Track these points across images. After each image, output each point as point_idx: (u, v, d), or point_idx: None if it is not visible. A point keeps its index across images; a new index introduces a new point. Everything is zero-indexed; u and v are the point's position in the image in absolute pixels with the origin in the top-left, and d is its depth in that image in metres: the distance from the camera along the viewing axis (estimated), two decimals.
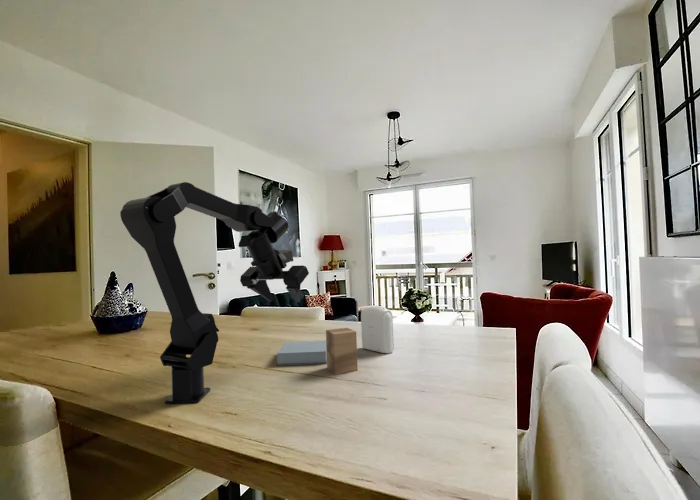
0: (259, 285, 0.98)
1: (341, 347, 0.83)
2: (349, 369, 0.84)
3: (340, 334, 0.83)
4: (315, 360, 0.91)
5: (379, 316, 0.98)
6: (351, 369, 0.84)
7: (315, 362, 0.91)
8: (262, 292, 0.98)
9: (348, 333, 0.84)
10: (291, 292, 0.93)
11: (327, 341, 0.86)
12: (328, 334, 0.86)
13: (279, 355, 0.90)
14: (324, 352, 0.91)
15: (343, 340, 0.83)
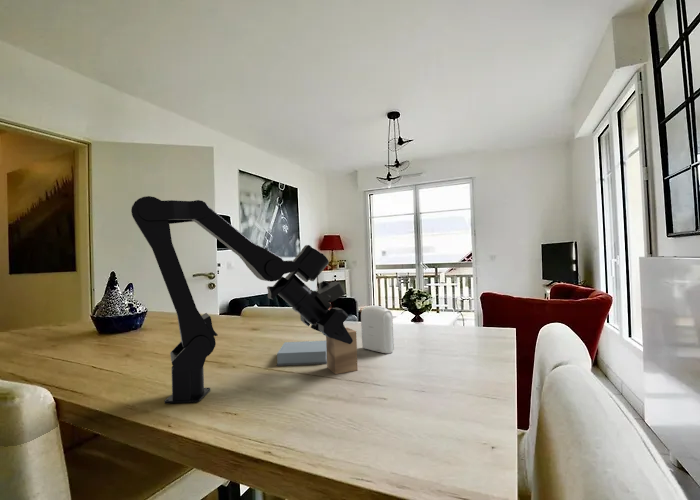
0: None
1: (341, 347, 0.83)
2: (349, 369, 0.84)
3: None
4: (315, 360, 0.91)
5: (379, 316, 0.98)
6: (351, 369, 0.84)
7: (315, 362, 0.91)
8: None
9: None
10: (332, 337, 0.81)
11: (327, 341, 0.86)
12: None
13: (279, 355, 0.90)
14: (324, 352, 0.91)
15: None
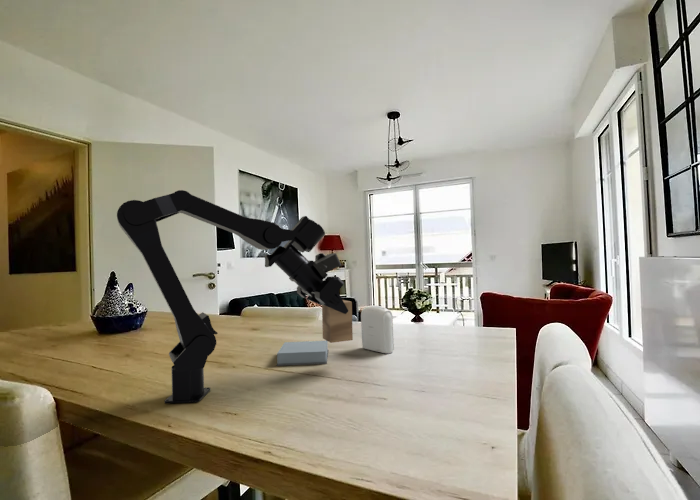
0: None
1: (337, 317, 0.84)
2: (344, 338, 0.85)
3: None
4: (315, 360, 0.91)
5: (379, 316, 0.98)
6: (346, 338, 0.85)
7: (315, 362, 0.91)
8: (322, 303, 0.89)
9: None
10: (327, 306, 0.82)
11: (323, 311, 0.88)
12: None
13: (279, 355, 0.90)
14: (324, 352, 0.91)
15: None
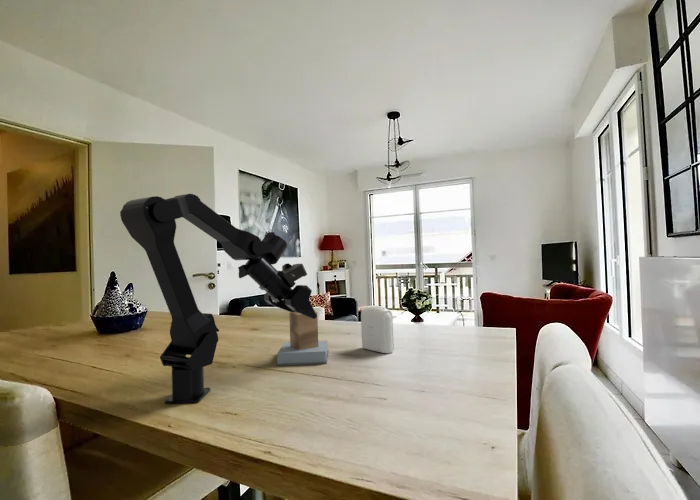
0: (281, 302, 0.99)
1: (304, 326, 0.94)
2: (311, 345, 0.95)
3: (303, 315, 0.94)
4: (315, 360, 0.91)
5: (379, 316, 0.98)
6: (313, 345, 0.95)
7: (315, 362, 0.91)
8: (286, 308, 0.99)
9: None
10: (299, 312, 0.90)
11: (291, 322, 0.97)
12: (291, 315, 0.96)
13: (279, 355, 0.90)
14: (324, 352, 0.91)
15: (306, 320, 0.94)
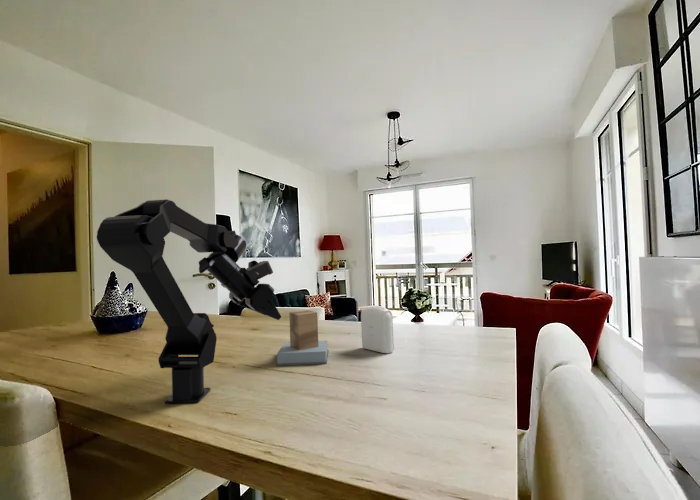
0: None
1: (304, 326, 0.94)
2: (311, 345, 0.95)
3: (303, 315, 0.94)
4: (315, 360, 0.91)
5: (379, 316, 0.98)
6: (313, 345, 0.95)
7: (315, 362, 0.91)
8: (251, 307, 0.94)
9: (310, 314, 0.95)
10: None
11: (291, 322, 0.97)
12: (291, 315, 0.96)
13: (279, 355, 0.90)
14: (324, 352, 0.91)
15: (306, 320, 0.94)
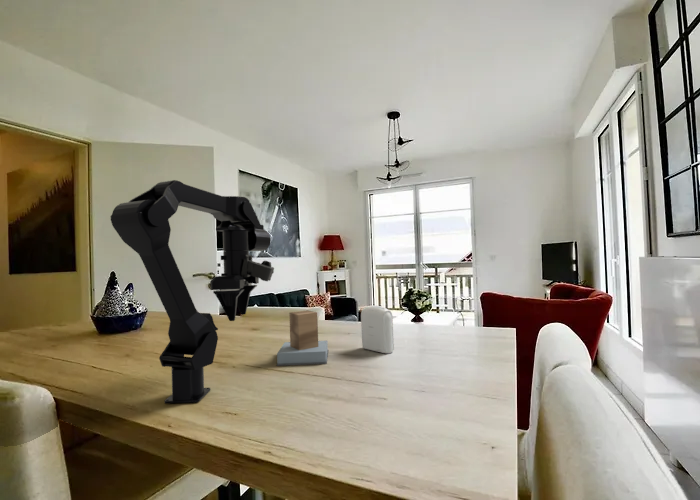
0: None
1: (304, 326, 0.94)
2: (311, 345, 0.95)
3: (303, 315, 0.94)
4: (315, 360, 0.91)
5: (379, 316, 0.98)
6: (313, 345, 0.95)
7: (315, 362, 0.91)
8: None
9: (310, 314, 0.95)
10: None
11: (291, 322, 0.97)
12: (291, 315, 0.96)
13: (279, 355, 0.90)
14: (324, 352, 0.91)
15: (306, 320, 0.94)
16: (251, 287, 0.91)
